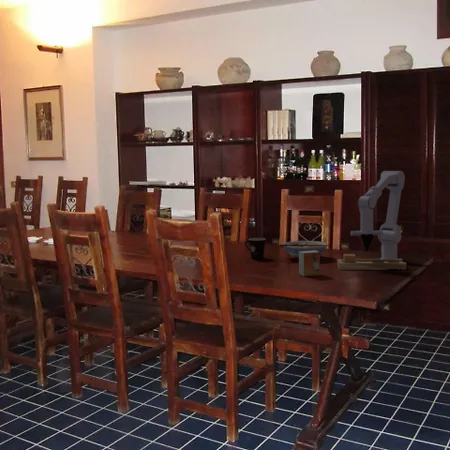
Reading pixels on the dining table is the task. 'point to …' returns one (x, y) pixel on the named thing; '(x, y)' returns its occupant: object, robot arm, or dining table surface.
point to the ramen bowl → (303, 247)
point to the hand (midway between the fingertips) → (366, 250)
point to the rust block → (349, 258)
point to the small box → (309, 263)
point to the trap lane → (372, 264)
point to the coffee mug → (256, 247)
